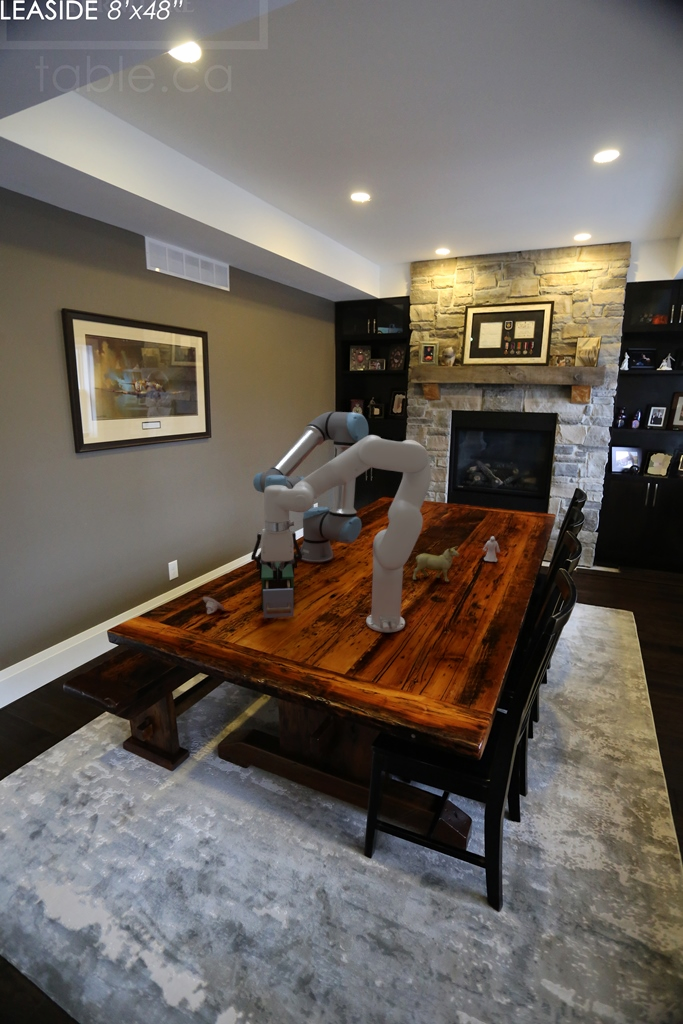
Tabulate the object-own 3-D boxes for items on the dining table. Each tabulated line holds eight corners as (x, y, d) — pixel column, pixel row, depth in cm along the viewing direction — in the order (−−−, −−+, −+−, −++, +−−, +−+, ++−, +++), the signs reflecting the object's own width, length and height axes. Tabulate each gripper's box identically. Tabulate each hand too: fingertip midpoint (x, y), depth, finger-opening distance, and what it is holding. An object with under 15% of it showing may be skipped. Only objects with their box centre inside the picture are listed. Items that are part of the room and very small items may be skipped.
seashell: (209, 622, 169) (193, 604, 168) (220, 611, 173) (205, 594, 172) (217, 618, 163) (201, 599, 162) (228, 607, 167) (213, 589, 166)
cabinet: (293, 607, 173) (293, 576, 170) (262, 609, 172) (261, 577, 169) (291, 589, 189) (291, 560, 186) (262, 590, 188) (261, 561, 185)
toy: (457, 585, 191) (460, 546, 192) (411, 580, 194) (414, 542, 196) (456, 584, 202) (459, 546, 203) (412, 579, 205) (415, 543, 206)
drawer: (294, 625, 159) (294, 597, 156) (263, 626, 157) (262, 598, 155) (291, 597, 179) (291, 572, 177) (264, 599, 178) (263, 573, 175)
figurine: (481, 562, 222) (483, 536, 219) (482, 556, 230) (484, 531, 227) (499, 564, 220) (501, 538, 217) (499, 558, 228) (501, 533, 225)
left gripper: (308, 515, 183) (308, 572, 188) (243, 517, 179) (245, 574, 185) (309, 521, 175) (309, 579, 181) (242, 522, 172) (244, 582, 178)
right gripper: (300, 521, 159) (300, 576, 163) (252, 522, 157) (254, 577, 161) (302, 528, 152) (302, 584, 156) (252, 529, 149) (253, 586, 154)
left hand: (277, 577), depth 183 cm, fingers closed on cabinet, 11 cm apart
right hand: (277, 581), depth 159 cm, fingers closed
